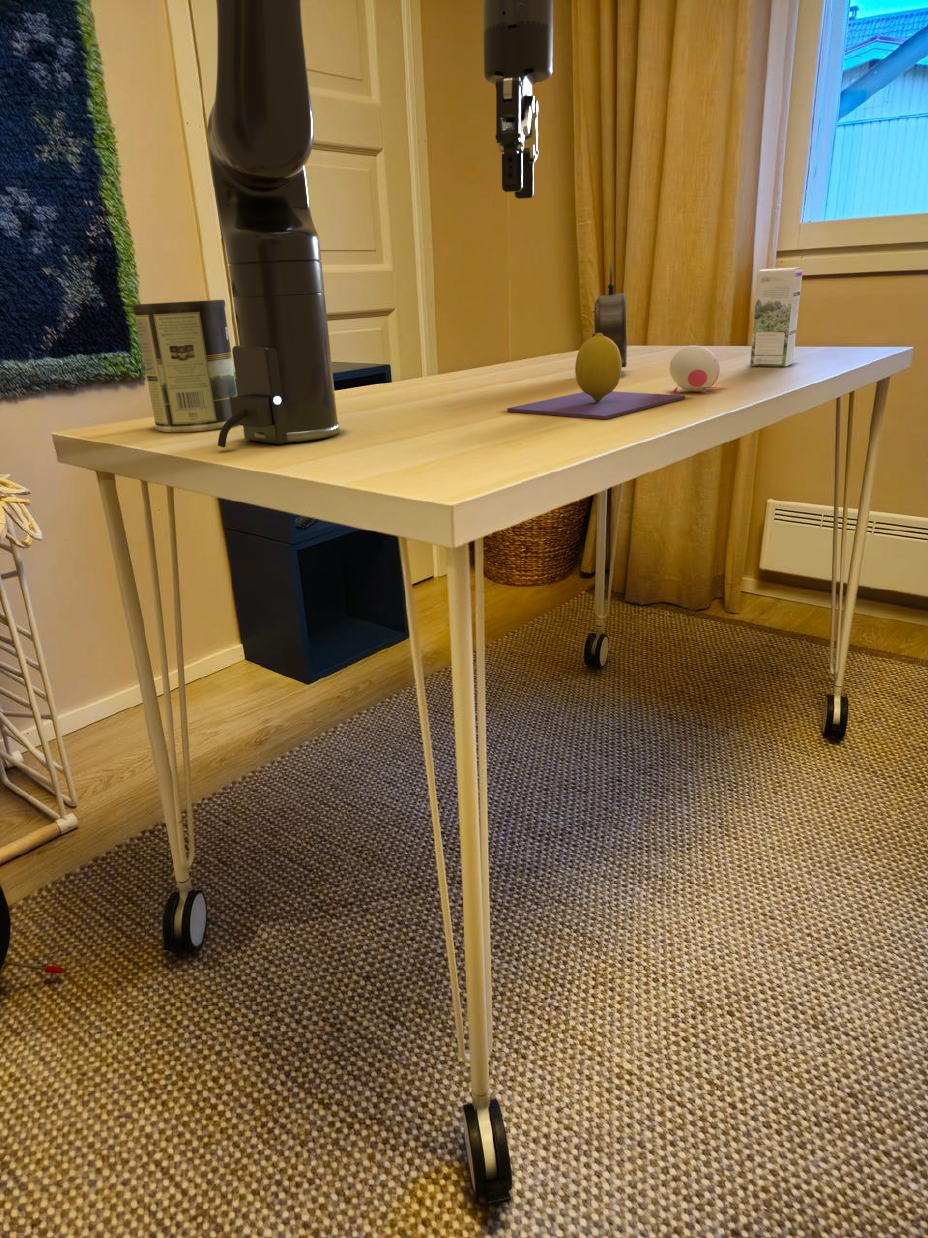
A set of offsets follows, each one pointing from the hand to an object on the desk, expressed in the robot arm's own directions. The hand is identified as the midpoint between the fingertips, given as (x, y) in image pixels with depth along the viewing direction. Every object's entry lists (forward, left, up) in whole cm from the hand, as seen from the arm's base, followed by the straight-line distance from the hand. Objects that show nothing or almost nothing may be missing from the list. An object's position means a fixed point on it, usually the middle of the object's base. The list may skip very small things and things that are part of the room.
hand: (518, 194), depth 95 cm
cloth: (+4, -9, -24) cm, 26 cm away
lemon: (+4, -9, -24) cm, 25 cm away
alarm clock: (+33, +8, -24) cm, 41 cm away
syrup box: (+53, -10, -24) cm, 59 cm away
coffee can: (-30, +26, -24) cm, 47 cm away
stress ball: (+20, -14, -24) cm, 34 cm away
